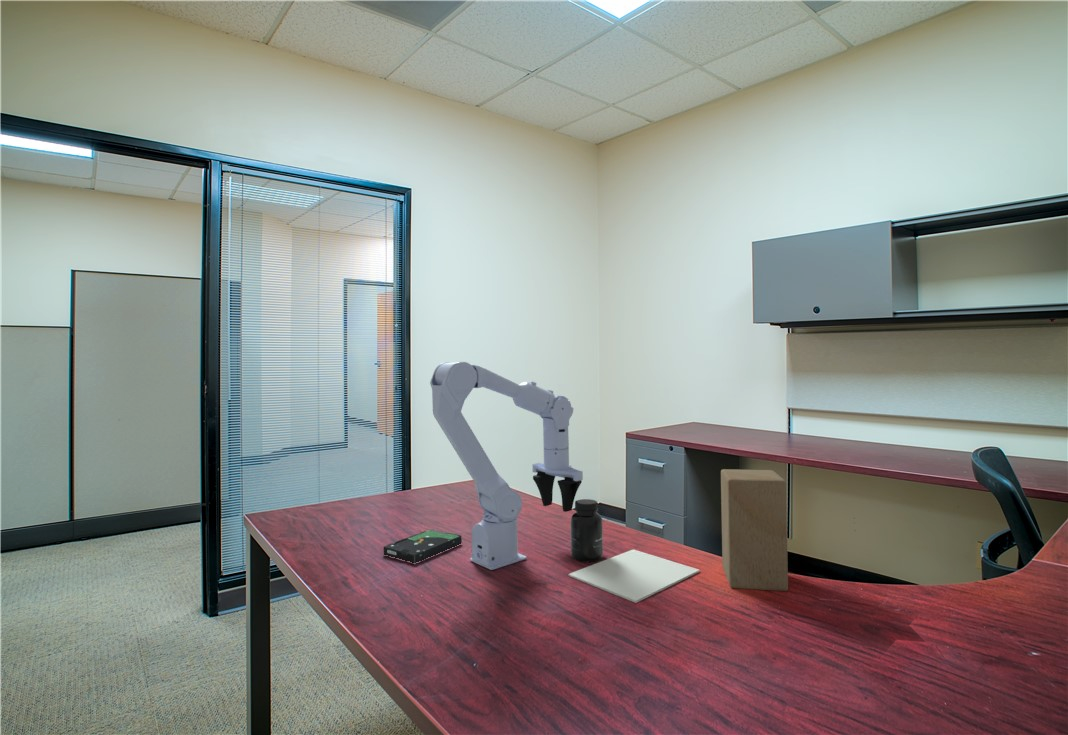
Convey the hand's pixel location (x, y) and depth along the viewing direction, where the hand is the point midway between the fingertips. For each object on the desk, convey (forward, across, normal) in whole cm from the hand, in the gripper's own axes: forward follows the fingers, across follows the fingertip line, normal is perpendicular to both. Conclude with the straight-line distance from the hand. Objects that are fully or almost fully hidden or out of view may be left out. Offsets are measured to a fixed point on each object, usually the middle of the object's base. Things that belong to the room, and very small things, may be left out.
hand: (557, 508), depth 123 cm
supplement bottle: (+9, -9, 0) cm, 13 cm away
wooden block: (+9, -39, -14) cm, 42 cm away
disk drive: (+10, +20, +23) cm, 32 cm away
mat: (+9, -22, 0) cm, 24 cm away
